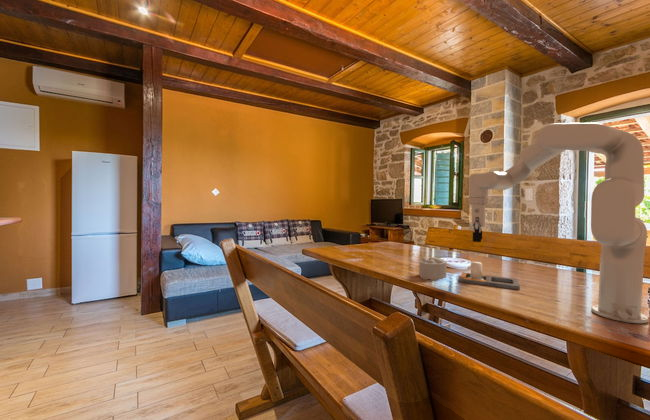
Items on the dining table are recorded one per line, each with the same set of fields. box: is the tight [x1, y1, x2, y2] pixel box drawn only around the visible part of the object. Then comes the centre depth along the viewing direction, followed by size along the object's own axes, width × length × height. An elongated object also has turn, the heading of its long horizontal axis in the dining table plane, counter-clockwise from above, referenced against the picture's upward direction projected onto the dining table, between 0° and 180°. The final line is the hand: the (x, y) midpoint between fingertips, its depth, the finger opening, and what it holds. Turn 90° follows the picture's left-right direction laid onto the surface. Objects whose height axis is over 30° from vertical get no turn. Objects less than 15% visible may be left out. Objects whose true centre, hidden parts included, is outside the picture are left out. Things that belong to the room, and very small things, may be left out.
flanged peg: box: [468, 261, 485, 280], centre depth 132 cm, size 6×6×8 cm
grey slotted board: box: [459, 271, 521, 291], centre depth 130 cm, size 13×22×2 cm, turn 60°
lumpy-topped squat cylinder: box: [418, 256, 447, 281], centre depth 138 cm, size 10×13×9 cm
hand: (477, 240), depth 132 cm, fingers open, 9 cm apart
